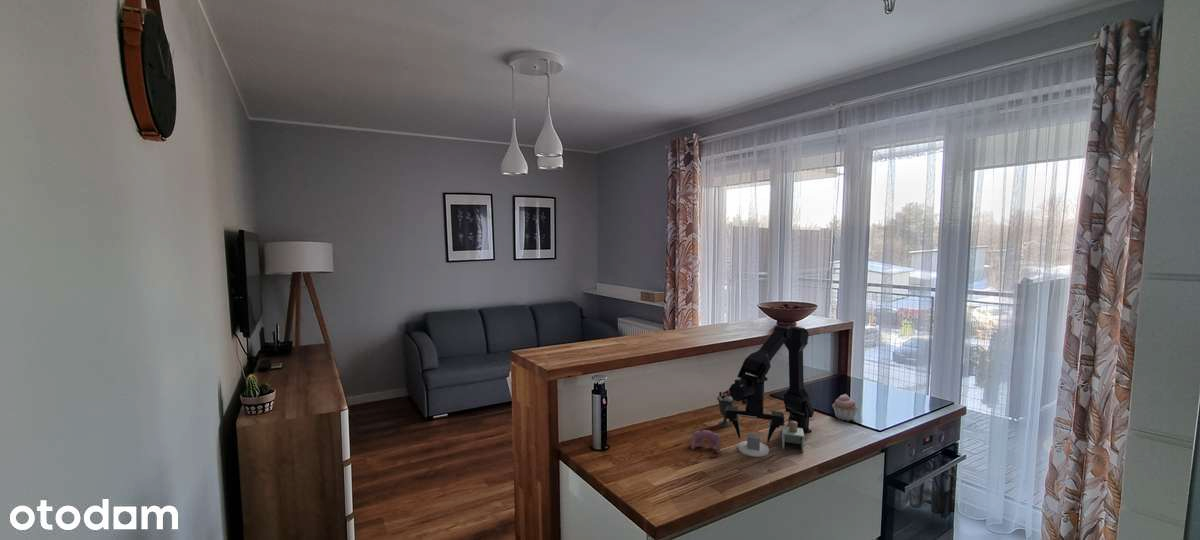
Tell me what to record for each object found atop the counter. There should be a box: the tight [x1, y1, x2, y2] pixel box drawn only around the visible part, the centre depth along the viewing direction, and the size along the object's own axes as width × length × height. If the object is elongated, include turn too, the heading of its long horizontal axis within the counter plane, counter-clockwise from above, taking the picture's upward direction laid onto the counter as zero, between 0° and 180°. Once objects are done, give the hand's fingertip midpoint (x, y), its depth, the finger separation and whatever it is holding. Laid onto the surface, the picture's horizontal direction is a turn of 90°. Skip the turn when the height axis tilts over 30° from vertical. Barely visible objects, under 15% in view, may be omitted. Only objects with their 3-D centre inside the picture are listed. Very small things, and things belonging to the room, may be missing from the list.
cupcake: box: [831, 393, 859, 422], centre depth 188 cm, size 9×9×10 cm
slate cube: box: [746, 432, 761, 451], centre depth 160 cm, size 4×4×4 cm
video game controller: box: [690, 429, 722, 454], centre depth 161 cm, size 10×5×7 cm, turn 72°
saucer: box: [737, 440, 770, 458], centre depth 160 cm, size 10×10×1 cm
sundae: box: [716, 387, 735, 428], centre depth 181 cm, size 7×7×15 cm
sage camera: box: [781, 421, 805, 452], centre depth 163 cm, size 7×7×8 cm
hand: (753, 439), depth 160 cm, fingers open, 9 cm apart
